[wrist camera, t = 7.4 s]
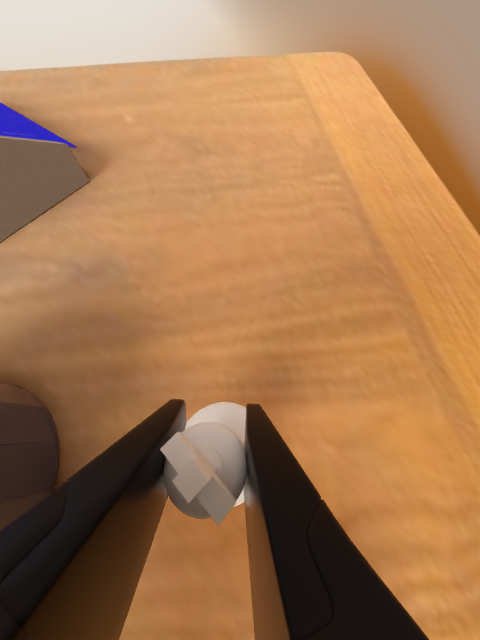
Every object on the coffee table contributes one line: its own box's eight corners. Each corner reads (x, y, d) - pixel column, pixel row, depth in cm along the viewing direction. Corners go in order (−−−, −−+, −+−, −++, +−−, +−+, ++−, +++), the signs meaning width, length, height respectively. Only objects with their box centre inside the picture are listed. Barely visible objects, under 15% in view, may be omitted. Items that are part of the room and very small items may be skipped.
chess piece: (225, 384, 15) (203, 298, 6) (288, 450, 13) (399, 481, 4) (158, 450, 13) (-21, 481, 4) (221, 533, 12) (161, 869, 3)
